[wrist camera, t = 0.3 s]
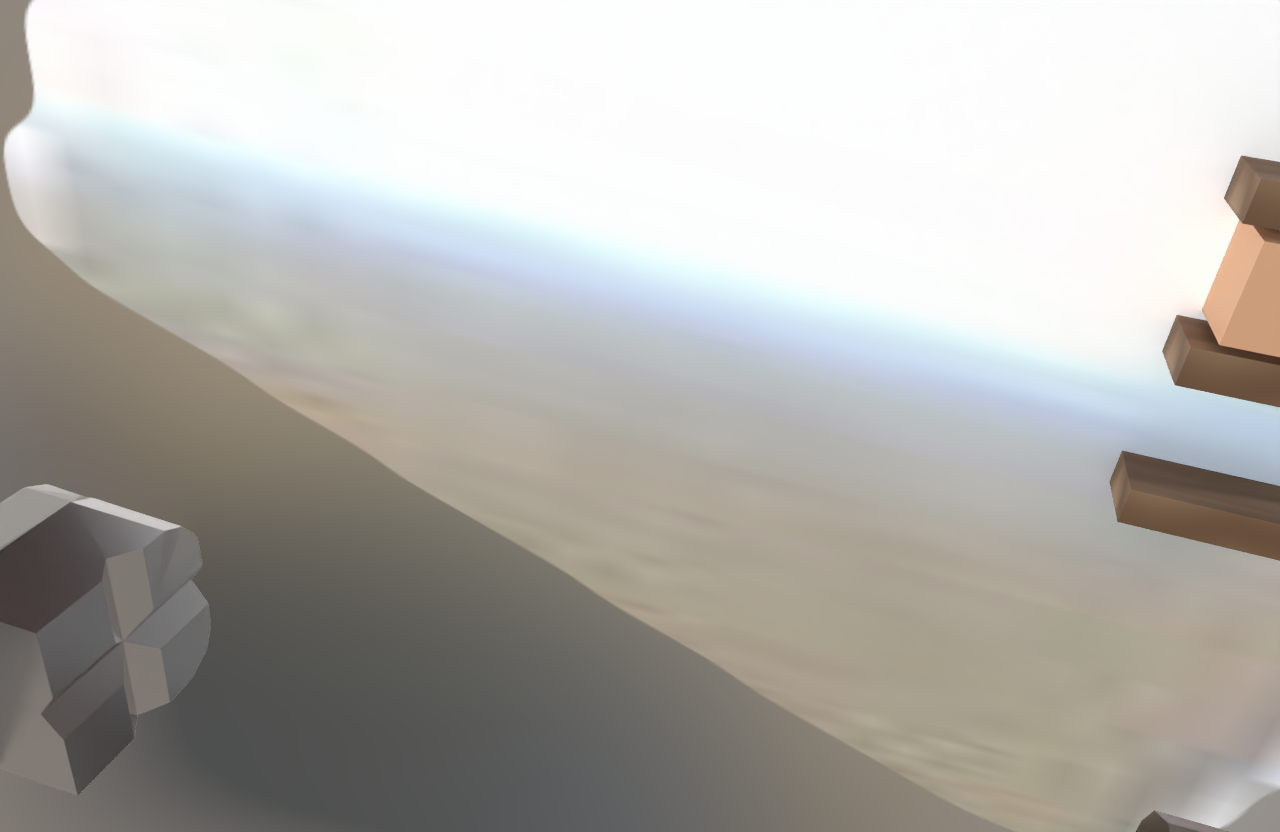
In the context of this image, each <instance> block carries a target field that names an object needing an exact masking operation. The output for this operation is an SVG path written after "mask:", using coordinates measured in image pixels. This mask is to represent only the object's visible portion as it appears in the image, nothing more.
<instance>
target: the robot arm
mask: <svg viewBox="0 0 1280 832" xmlns="http://www.w3.org/2000/svg"><path fill="white" fill-rule="evenodd" d="M202 566H203V563H202V558H201V553H200V548H199V543H198V538H197V535H195V534H194V533H192V532H190V531H189V530H187V529H185V528H183V527H181V526H178V525H175V524H172V523H169V522H166V521H163V520H160V519H157V518H154V517H150V516H147V515H144V514H141V513H138V512H135V511H132V510H129V509H125V508H123V507H119V506H116V505H113V504H110V503H107V502H104V501H101V500H98V499H95V498H87V497H85V496H81V495H78V494H75V493H72V492H69V491H66V490H63V489H60V488H57V487H54V486H51V485H48V484H45V485H38V486H31V487H25V488H23V489H21V490H20V491H18V492H17V493H15V494H14V495H12V496H10V497H9V498H7V499H6V500H4V501H3V502H1V503H0V771H3V772H6V773H9V774H12V775H16V776H19V777H22V778H25V779H28V780H31V781H34V782H37V783H40V784H43V785H46V786H50V787H52V788H55V789H58V790H62V791H64V792H68V793H71V794H74V795H77V796H78V795H79V794H80V793H81V792H82V791H83V790H84V789H85V788H86V787H87V786H88V785H89V784H90V783H91V782H92V781H93V780H94V779H95V778H96V777H97V776H98V775H99V774H100V773H101V772H102V771H103V770H104V769H105V768H106V767H107V766H108V765H109V764H110V763H111V762H112V761H113V760H114V759H115V757H117V756H118V754H119V753H121V752H122V750H123V749H124V748H125V747H126V746H127V745H128V744H129V743H130V742H131V741H132V740H133V739H134V737H135V729H136V721H137V715H139V714H141V713H144V712H147V711H149V710H152V709H154V708H157V707H159V706H162V705H164V704H167V703H169V702H170V701H171V700H172V699H173V698H174V697H175V696H176V695H177V694H178V693H179V692H180V691H181V690H182V689H183V688H184V687H185V685H186V684H187V683H188V682H189V681H190V680H191V679H192V677H193V675H194V673H195V671H196V670H197V668H198V666H199V664H200V661H201V660H202V658H203V656H204V654H205V652H206V650H207V646H208V640H209V634H210V628H211V622H210V614H209V605H208V602H207V601H206V600H205V598H204V597H203V596H202V594H201V593H200V591H199V590H198V589H197V587H196V586H195V584H194V583H193V582H192V580H191V579H192V578H193V577H194V575H195V574H196V573H197V572H198V570H199V569H200V568H201V567H202ZM1136 832H1228V831H1225V830H1222V829H1218V828H1215V827H1211V826H1208V825H1204V824H1201V823H1197V822H1194V821H1190V820H1186V819H1183V818H1179V817H1176V816H1172V815H1169V814H1165V813H1162V812H1158V811H1155V810H1154V811H1153V812H1152V813H1151V814H1149V815H1148V816H1147V817H1146V818H1144V819H1143V820H1142V821H1141V823H1140V825H1139V826H1138V828H1137V830H1136Z"/></svg>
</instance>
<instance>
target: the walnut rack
mask: <svg viewBox="0 0 1280 832" xmlns="http://www.w3.org/2000/svg"><path fill="white" fill-rule="evenodd" d="M1224 199H1225V200H1226V201H1227V203H1228V204H1229V206H1230V207H1231V208H1232V210H1233V211H1234V213H1235V214H1236V215H1237V217H1238V218H1239V220H1240V221H1241V222H1242V224H1247V225H1253V226H1259V227H1264V228H1270V229H1275V230H1280V162H1276V161H1270V160H1264V159H1257V158H1251V157H1245V156H1241V158H1240V160H1239V162H1238V165H1237V167H1236V170H1235V172H1234V175H1233V177H1232V180H1231V182H1230V185H1229V187H1228V190H1227V192H1226V195H1225V197H1224ZM1163 354H1164V357H1165V359H1166V362H1167V365H1168V368H1169V370H1170V373H1171V376H1172V379H1173V381H1174V384H1175V385H1177V386H1181V387H1186V388H1191V389H1196V390H1200V391H1205V392H1210V393H1215V394H1219V395H1224V396H1229V397H1234V398H1238V399H1243V400H1248V401H1253V402H1257V403H1262V404H1267V405H1271V406H1276V407H1280V357H1276V356H1271V355H1266V354H1261V353H1256V352H1251V351H1246V350H1241V349H1236V348H1231V347H1227V346H1222V345H1219V344H1218V341H1217V339H1216V337H1215V335H1214V333H1213V331H1212V329H1211V327H1210V325H1209V323H1208V321H1204V320H1199V319H1194V318H1189V317H1184V316H1179V315H1177V316H1176V319H1175V321H1174V324H1173V326H1172V329H1171V331H1170V334H1169V336H1168V339H1167V341H1166V343H1165V346H1164V348H1163ZM1110 486H1111V491H1112V496H1113V501H1114V506H1115V511H1116V516H1117V521H1118V522H1121V523H1125V524H1129V525H1134V526H1138V527H1142V528H1146V529H1150V530H1154V531H1159V532H1163V533H1167V534H1171V535H1175V536H1180V537H1184V538H1188V539H1192V540H1196V541H1200V542H1205V543H1209V544H1213V545H1217V546H1221V547H1226V548H1230V549H1234V550H1238V551H1242V552H1246V553H1251V554H1255V555H1259V556H1263V557H1267V558H1272V559H1276V560H1280V486H1275V485H1271V484H1267V483H1262V482H1258V481H1253V480H1249V479H1244V478H1240V477H1236V476H1231V475H1227V474H1222V473H1218V472H1213V471H1209V470H1205V469H1200V468H1196V467H1191V466H1187V465H1182V464H1178V463H1173V462H1169V461H1165V460H1160V459H1156V458H1151V457H1147V456H1142V455H1138V454H1134V453H1129V452H1125V451H1122V453H1121V455H1120V458H1119V460H1118V463H1117V465H1116V467H1115V470H1114V472H1113V475H1112V477H1111V480H1110Z"/></svg>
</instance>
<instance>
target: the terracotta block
mask: <svg viewBox="0 0 1280 832" xmlns="http://www.w3.org/2000/svg"><path fill="white" fill-rule="evenodd" d="M1202 311H1203V313H1204V315H1205V317H1206V319H1207V321H1208V323H1209V325H1210V327H1211V329H1212V331H1213V333H1214V335H1215V337H1216V339H1217V341H1218V344H1219V345H1222V346H1227V347H1231V348H1236V349H1241V350H1246V351H1251V352H1256V353H1261V354H1266V355H1271V356H1276V357H1280V230H1275V229H1270V228H1264V227H1259V226H1253V225H1247V224H1242V222H1241V221H1240V220H1239V222H1238V225H1237V227H1236V229H1235V232H1234V234H1233V237H1232V239H1231V241H1230V244H1229V246H1228V249H1227V251H1226V253H1225V256H1224V258H1223V261H1222V263H1221V265H1220V268H1219V270H1218V272H1217V275H1216V277H1215V280H1214V282H1213V284H1212V287H1211V289H1210V292H1209V294H1208V296H1207V299H1206V301H1205V304H1204V306H1203V308H1202Z"/></svg>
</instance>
